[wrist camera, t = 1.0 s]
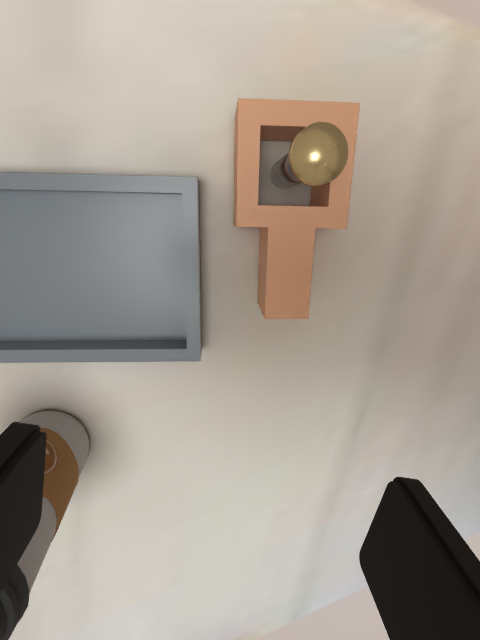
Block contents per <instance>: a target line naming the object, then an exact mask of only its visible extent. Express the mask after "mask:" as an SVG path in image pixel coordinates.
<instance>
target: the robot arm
mask: <svg viewBox="0 0 480 640" xmlns="http://www.w3.org/2000/svg"><path fill="white" fill-rule="evenodd" d="M46 438H47V436H46V433H45V432H40V426H39V425H34V424H27V423H20V422H13V423H12V424H11V425H10V426H9V427H8V428H7V429H6V430H5V431H4V432H3V433H2V434H1V435H0V593H1V592H2V590H3V588H4V586H5V585H6V583H7V581H8V579H9V578H10V576H11V574H12V572H13V571H14V569H15V567H16V565H17V564H18V562H19V560H20V558H21V557H22V555H23V553H24V551H25V550H26V548H27V546H28V544H29V543H30V541H31V539H32V537H33V536H34V534H35V532H36V530H37V528H38V525H39V523H40V519H41V515H42V501H43V485H44V470H45V454H46ZM359 558H360V565H361V568H362V571H363V573H364V576H365V578H366V581H367V583H368V586H369V588H370V591H371V593H372V595H373V598H374V601H375V603H376V606H377V608H378V611H379V613H380V616H381V618H382V621H383V623H384V626H385V628H386V631H387V633H388V636H389V639H390V640H480V561H479V560H478V558H477V557H476V556H475V554H474V553H473V552H472V550H471V549H470V548H469V546H468V545H467V544H466V542H465V541H464V540H463V538H462V537H461V535H460V534H459V533H458V531H457V530H456V529H455V527H454V526H453V525H452V523H451V522H450V521H449V519H448V518H447V517H446V515H445V514H444V513H443V511H442V510H441V508H440V507H439V506H438V504H437V503H436V502H435V500H434V499H433V498H432V496H431V495H430V494H429V492H428V491H427V490H426V488H425V487H424V486H423V484H422V483H421V482H420V481H419V480H417V479H410V478H403V477H396V478H395V479H394V480H393V481H391V482H389V483H388V485H387V487H386V490H385V492H384V494H383V497H382V499H381V502H380V504H379V507H378V509H377V511H376V514H375V516H374V519H373V521H372V523H371V526H370V528H369V531H368V533H367V536H366V538H365V540H364V543H363V545H362V548H361V550H360V556H359Z"/></svg>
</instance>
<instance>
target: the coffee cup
mask: <svg viewBox="0 0 480 640" xmlns="http://www.w3.org/2000/svg"><path fill="white" fill-rule="evenodd" d="M20 423H27V424H34V425H39V426H40V432H45V433H46V436H47V438H46V454H45V470H44V485H43V501H42V515H41V519H40V523H39V525H38V528H37V530H36V532H35V534H34V536H33V537H32V539H31V541H30V543H29V544H28V546H27V548H26V550H25V551H24V553H23V555H22V557H21V558H20V560H19V562H18V564H17V565H16V567H15V569H14V571H13V572H12V574H11V576H10V578H9V579H8V581H7V583H6V585H5V586H4V588H3V590H2V592H1V593H0V640H8V639H9V638H10V636H11V634H12V632H13V630H14V628H15V627H16V625H17V623H18V622H19V620H20V619H21V618H22V616H23V614H24V612H25V610H26V608H27V607H28V602H29V593H30V590H31V588H32V586H33V583H34V581H35V579H36V576H37V574H38V572H39V569H40V567H41V565H42V562H43V560H44V557H45V555H46V553H47V550H48V548H49V546H50V543H51V542H52V540H53V538H54V536H55V534H56V532H57V530H58V528H59V525H60V523H61V520H62V518H63V516H64V513H65V511H66V509H67V506H68V504H69V501H70V499H71V497H72V494H73V492H74V489H75V487H76V485H77V482H78V478H79V475H80V473H81V471H82V468H83V466H84V464H85V461H86V459H87V456H88V454H89V448H90V445H89V439H88V434H87V432H86V430H85V428H84V426H83V425H82V424H81V423H80V422H79V421H78V420H77V419H75V418H74V417H72V416H71V415H68V414H66V413H64V412H59V411H54V410H53V411H42V412H38V413H34V414H31V415H29V416H27V417H25V418H24V419H22V420H21V421H20Z"/></svg>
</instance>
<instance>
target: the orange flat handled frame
mask: <svg viewBox="0 0 480 640" xmlns="http://www.w3.org/2000/svg"><path fill="white" fill-rule="evenodd" d="M359 106H360V103H346V102H320V101H294V100H268V99H242V98H238V103H237V109H236V115H235V148H234V225H235V226H236V227H260V246H259V275H258V304H259V307H260V309H261V311H262V314H263V316H264V318H265V319H308V315H309V303H310V291H311V278H312V266H313V253H314V241H315V228H338V229H347V219H348V210H349V200H350V191H351V182H352V172H353V163H354V153H355V144H356V135H357V125H358V116H359ZM316 122H327V123H331V124H333V125H335V126H336V127H338V128H339V129H340V130H341V131H342V133H343V134H344V136H345V138H346V140H347V144H348V159H347V163H346V165H345V167H344V169H343V171H342V172H341V174H340V175H339V176H338V177H337V178H335V179H334V180H333V181H331V182H329V183H326V184H322V185H317V186H312V190H311V204H310V206H266V205H258V189H259V158H260V140H273V141H293V140H294V139H295V137H296V136H297V135H298V134H299V133H300V132H301V131H302V130H303V129H304V128H306V127H307V126H309V125H311V124H313V123H316Z"/></svg>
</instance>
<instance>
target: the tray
mask: <svg viewBox="0 0 480 640" xmlns="http://www.w3.org/2000/svg"><path fill="white" fill-rule="evenodd" d="M201 352H202V322H201V260H200V198H199V179H198V177H180V176H139V175H98V174H57V173H16V172H0V363H26V362H158V361H201Z"/></svg>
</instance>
